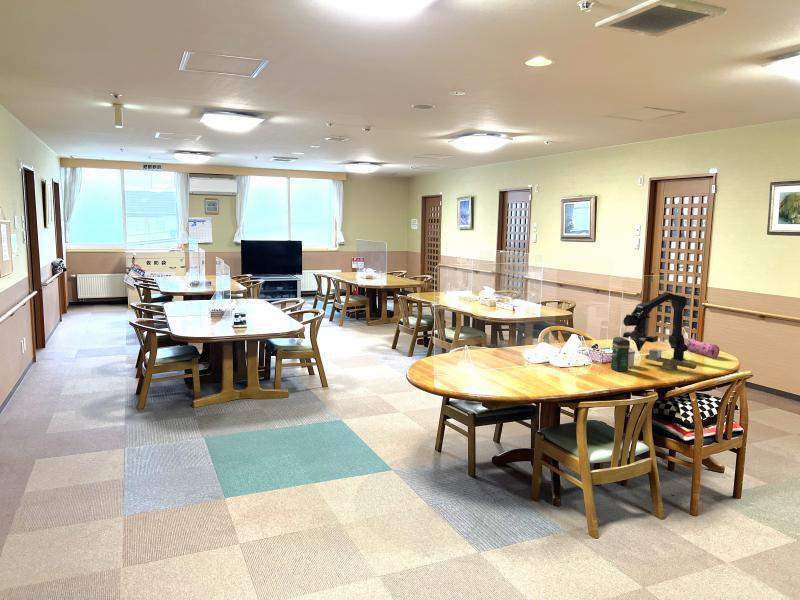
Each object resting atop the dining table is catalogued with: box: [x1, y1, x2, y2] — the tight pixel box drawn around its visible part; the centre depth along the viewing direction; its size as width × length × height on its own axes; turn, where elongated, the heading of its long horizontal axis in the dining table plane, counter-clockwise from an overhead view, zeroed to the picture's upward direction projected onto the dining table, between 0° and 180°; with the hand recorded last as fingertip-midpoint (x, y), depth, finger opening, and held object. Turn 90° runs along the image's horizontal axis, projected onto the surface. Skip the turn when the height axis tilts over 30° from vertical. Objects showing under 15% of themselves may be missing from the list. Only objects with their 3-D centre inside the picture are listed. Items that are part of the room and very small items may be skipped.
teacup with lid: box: [628, 347, 636, 368], centre depth 344 cm, size 12×9×12 cm
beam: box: [644, 354, 698, 371], centre depth 340 cm, size 6×28×5 cm, turn 42°
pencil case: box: [685, 337, 720, 359], centre depth 374 cm, size 21×9×9 cm, turn 17°
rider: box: [648, 348, 663, 362], centre depth 346 cm, size 5×5×6 cm
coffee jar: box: [610, 336, 631, 373], centre depth 334 cm, size 10×8×19 cm
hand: (638, 351), depth 353 cm, fingers closed
